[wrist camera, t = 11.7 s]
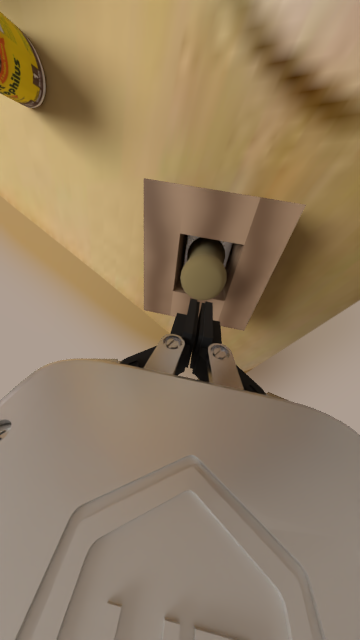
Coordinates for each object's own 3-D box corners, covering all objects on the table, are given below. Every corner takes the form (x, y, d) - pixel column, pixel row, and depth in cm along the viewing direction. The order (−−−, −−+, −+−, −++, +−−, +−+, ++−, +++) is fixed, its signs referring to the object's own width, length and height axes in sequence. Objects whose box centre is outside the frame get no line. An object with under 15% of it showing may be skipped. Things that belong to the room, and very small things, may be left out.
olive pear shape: (222, 275, 27) (227, 310, 19) (186, 274, 28) (175, 306, 19) (228, 235, 24) (237, 255, 15) (187, 235, 25) (173, 253, 16)
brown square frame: (278, 204, 22) (305, 204, 15) (237, 304, 31) (243, 330, 25) (163, 185, 23) (143, 178, 16) (157, 288, 32) (143, 310, 26)
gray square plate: (233, 236, 25) (234, 237, 24) (220, 278, 29) (221, 280, 28) (189, 228, 25) (188, 229, 24) (183, 271, 29) (182, 273, 28)
